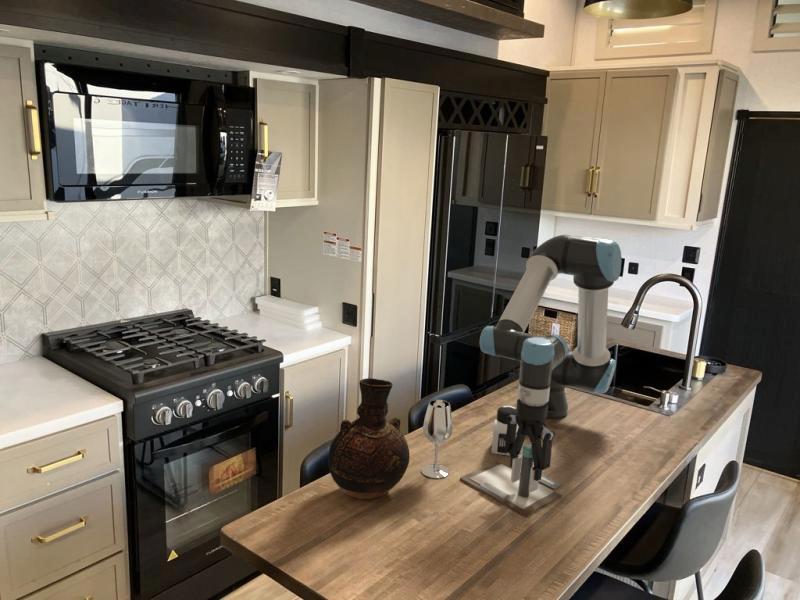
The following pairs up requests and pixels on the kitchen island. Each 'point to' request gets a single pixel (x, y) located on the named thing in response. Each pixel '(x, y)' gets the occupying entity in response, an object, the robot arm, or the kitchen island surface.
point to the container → (501, 429)
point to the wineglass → (437, 434)
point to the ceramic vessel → (369, 446)
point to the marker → (525, 471)
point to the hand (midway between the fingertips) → (523, 485)
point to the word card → (549, 482)
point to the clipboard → (509, 489)
